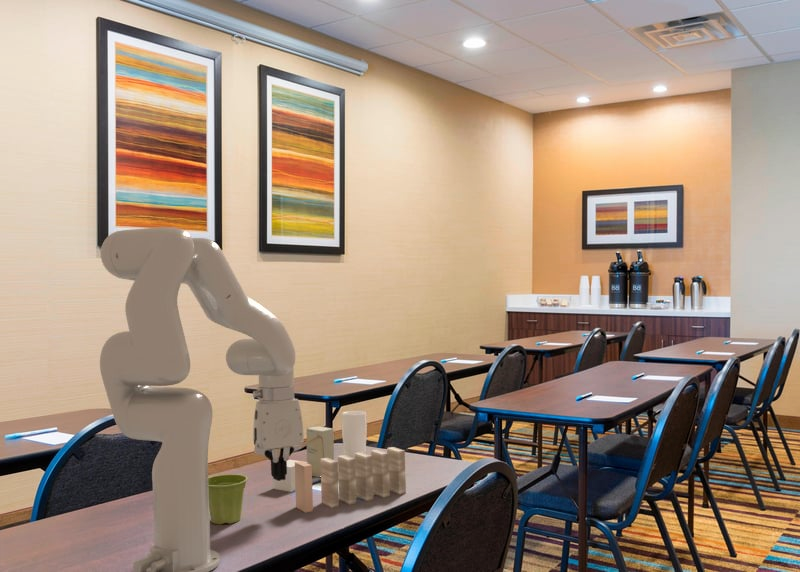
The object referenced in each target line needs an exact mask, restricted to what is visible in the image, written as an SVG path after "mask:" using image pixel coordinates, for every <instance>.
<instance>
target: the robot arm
mask: <svg viewBox="0 0 800 572" xmlns="http://www.w3.org/2000/svg"><path fill="white" fill-rule="evenodd" d="M100 247H101V248H100V259H101V263H102V265H103V267H104V268H105V270H106V271H107V272H109V274H111V275H112V276H114V277H115V278H118V279H122V280H129V281H133V283H132V285H131V287H130V290H129V292H128V294H127V297H126V300H125V305H124V306H125V310H124V311H125V317H126V322H127V326H128V331H121V332H118V333H115V334H112V335H111V336H110V337H109V338H108V339H107V340H106V341H105V343H104V345H103V346H102V349H101V353H100V356H99V370H100V376H101V379H102V382H103V385H104V389H105V392H106V396H107V399H108V402H109V406H110V409H111V412H112V415H113V419H114V422H115V424H116V426H117V428H118V430H119V431H120V432H121V434H122V435H124V436H125V437H127V438H129V439H132V440H139V441H140V440H141V441H153V442H160V443H162V444H161V447H160V448H159V451H158V453H157V455H156V457H155V458H154V461H153V464H152V470H151V471H152V472H151V478H152V479H151V481H152V504H153V505H152V510H153V512H152V513H153V538H154V539H153V541H154V543H153V544H154V545H153V546H151V547H149V554H147V556H146V557H142V558H141V559H138V560H136V561H135V562H133V564H132V568H133V570H134V572H144V571H145V572H211V571H213V570H214V569H215V568H217V567H218V566H219V564H220V563H221V562H220V560H221V558H220V554H219V553H218V552H217V551H216V550H213V549H211V528H210V527H211V524H210V523H211V522H210V520H211V518H210V510H209V485H208V478H209V442H210V433H211V427H212V424H213V423H212V421H213V406H212V403H211V401H210V399H209V397H208V396H207V395H206V394H204V393H203V392H202V391H199V390H197V389H194V388H188V387H178V386H177V387H173V386H174V385H178V384H180V383H182V382H183V381H185V380H186V378H187V377H188V376H189V373H190V370H191V359H190V353H189V350H188V349H189V348H188V345H187V340H186V336H185V333H184V328H183V325H182V320H181V316H180V312H179V307H178V296H179V291H180V288H181V285H182V284H184V285H187V286H188V287H189V289H190V291H191V292H192V293H193V295H194V298H195V299H196V301H197V302H198V304H199V305H200V307H201V309H202V311H203V312H204V315H205V316H206V318H208V319H209V320H210V321H211V322H213V323H215V324H216V325H219V326H221V327H224V328H227V329H229V330H232V331H236V332H238V333H241V334H244V335H245V336H248V337H250V338H243V339H238V340H236V341H234V342H233V343H231V345H229V347H228V349H227V350H226V355H225V360H226V361H225V362H226V365H227V367H228V368H229V369H230V371H231V372H233V373H235V374H238V375H242V376H258V387H257V390H253V392H252V397H253V398H257V399H258V401H256V403H255V409H254V416H253V428H252V429H253V433H252V434H253V435H252V437H253V445H254V449H253V454H255V455H256V456H261V457H262V456H265V457H266V458H267V459H268V460H269V461H270V472H271V473H270V475H271V477H272V478H274V479H275V480H277V481H281V480H285V479H286V476H285V475H286V474H287V461H288V460H290V456H291V455H292V454H293V453H294V452H296V451H298V450H300V449H303V448H302V447H303V443H304V439H305V436H304V424H303V416H302V409H301V406H300V401H299V399H298V398H295V374H294V370H295V369H294V366H295V365H296V364H295V363H296V351H295V347H294V343H293V340H292V339H291V337H290V335H289V333H288V331H287V329H286V328H285V325H284V324H283V323H282V321H281V320H280V319H279V318H278V317H277V316H276V315H275V314H273V313H272V312H271V311H270V310H268V309H267V308H266V307H264V306H262V305H261V304H259V302H256V301H255V300H253V299H252V298H250V297H249V296H248V295H246V293H245V292H244V289H243V287H242V286H241V284H240V282H239V280H238V278H237V277H236V275H235V273H234V270H233V268H232V267H231V265H230V263H229V261H228V260H227V257H226V256H225V254H224V253H223V251H222V249H221V248H220V246H219V244H217V243H216V241H214V240H211V239H209V238H205V237H192V236H191V234H190V233H189V232H188V231H186V230H184V229H182V228H179V227H174V226H173V227H172V226H163V227H162V226H159V227H147V228H137V229H136V228H135V229H134V228H133V229H124V230H117V231H114V232H112V233H111V234H109V235H107V237H106V238H105V239H104V241H103V243H102V245H101V246H100ZM170 386H171V387H170Z"/></svg>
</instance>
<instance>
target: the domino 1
mask: <svg viewBox="0 0 800 572" xmlns="http://www.w3.org/2000/svg"><path fill="white" fill-rule="evenodd" d="M299 461H300V462H295V491H294V492H295V508H297V509H298V510H300V511H302V512H303V513H310V512H313V511H314V504H313V499H314V497H313V495H314V494H313V476H312V465H310V464H308V463H305V462H306V461H304V460H299Z"/></svg>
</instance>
